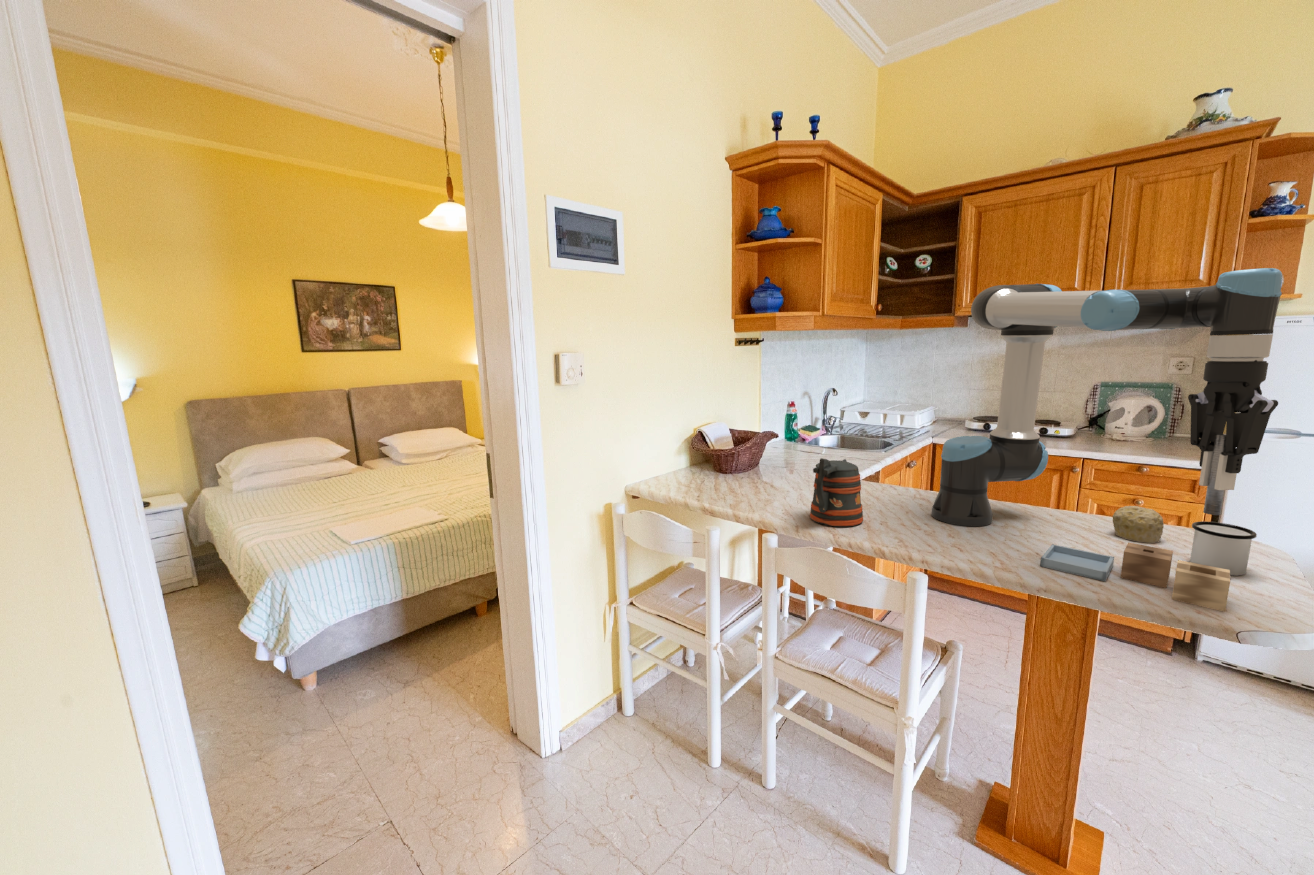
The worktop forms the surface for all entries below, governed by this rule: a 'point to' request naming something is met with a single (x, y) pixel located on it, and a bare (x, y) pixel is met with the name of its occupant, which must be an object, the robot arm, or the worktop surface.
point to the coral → (1138, 524)
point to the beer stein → (836, 494)
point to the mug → (1222, 546)
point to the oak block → (1201, 585)
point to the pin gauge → (1212, 495)
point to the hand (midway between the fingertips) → (1216, 487)
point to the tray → (1077, 562)
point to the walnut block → (1146, 564)
